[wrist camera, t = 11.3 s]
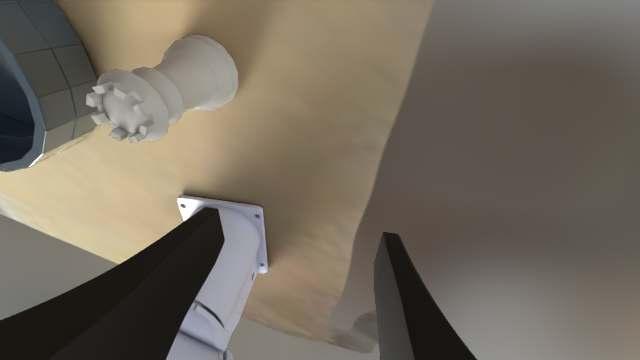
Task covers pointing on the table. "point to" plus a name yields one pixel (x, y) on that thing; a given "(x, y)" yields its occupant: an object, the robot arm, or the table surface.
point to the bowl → (41, 84)
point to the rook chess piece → (165, 89)
